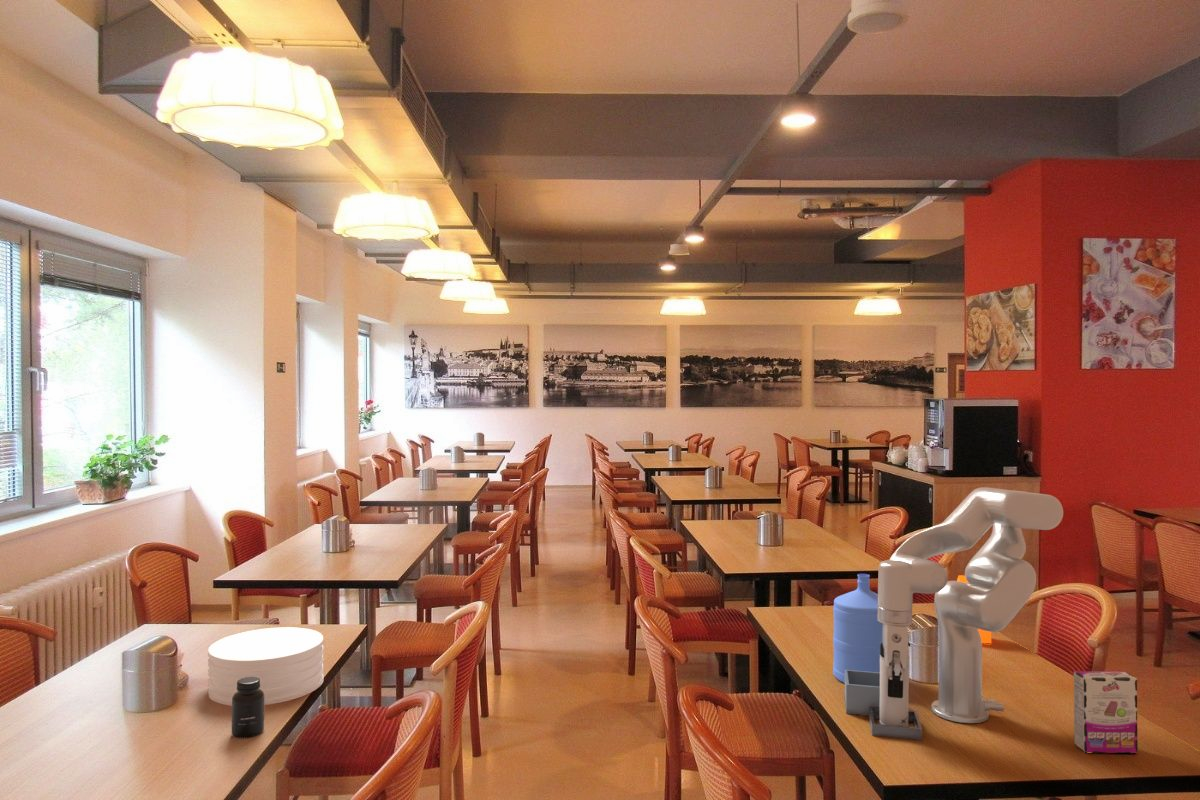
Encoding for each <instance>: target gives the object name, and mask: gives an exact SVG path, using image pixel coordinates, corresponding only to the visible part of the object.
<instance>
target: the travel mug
mask: <svg viewBox="0 0 1200 800" xmlns="http://www.w3.org/2000/svg"><path fill="white" fill-rule="evenodd" d="M910 647H911V643H910V642H909V641H908V648H910ZM909 652H910V651H909V650H908V669H907V670H905V669H904V668H903V666H902V675H903V698H894V697H888V678H889V668H887V667H886V665H885V660H884V647H883V644H882V643H881V645H880V719H879V724H884V725H894V726H904V727H909V722H908V710H909V709H910V708H909V707H910V706H909V701H910V699H909V689H910V686H909V683H910V680H909V679H910V673H909V671H910V670H909V669H910V667H909V666H910V664H909V663H910V661H909V660H910V659H909V658H910V657H909ZM891 665H892V664H891ZM892 671H893V670H892Z"/></svg>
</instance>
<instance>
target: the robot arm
mask: <svg viewBox="0 0 1200 800" xmlns="http://www.w3.org/2000/svg"><path fill="white" fill-rule="evenodd" d="M1063 517H1064V509H1063V506H1062V503H1061V502H1060V500H1059V499H1058V498H1057V497H1056V496H1053V495H1051V494H1047V493H1045V494H1044V493H1036V492H1029V491H1022V490H1013V489H1012V490H1011V489H1005V488H1004V489H1001V488H996V487H988V486H987V487H977V488H974V489H973V490H972V491H970V492H969V494H968V495H967V496H966V497H965V498H964V499H963V500H962V501H961V502H960V504H959V505H958V506H956V508H955V509H953V511H952V512H951V513H950V514H949V515H948V516H947V517H946V518H945V519H944V521H942V522H940V523H939V524H936V525H933V526H931V527H928V528H925V529H924V530H922V531H919V532H918V533H915V534H913V535H912V536H910V537H909V538H907V539H906V540H905V541H903V543H901V544H900V546H898V547H897V548H896V550H895V551H894V552H893V553H892V555H891V556H890V558H889V559H887V560H883V561H881V562H879V564H878V571H877V572H878V574H877V575H878V577H877V580H878V581H877V582H878V583H877V594H878V613H877V620H878V621H879V622H881V623H883V627H882V644H883V647H884V660H885V665H886V667H887V668H889V678H888V697H894V698H903V675H902V666H903V668H904V669H905V670H907V669H908V661H909V660H908V655H909V653H908V651H909V646H908V642H909V631H908V630H909V629H908V628H909V627H908V626H911V625H912V624H913V601H914V599H913V597H914V596H913V595H914V594H915V593H917V594H925V595H926V594H928V595H929V594H930V595H931V594H932V595H933V594H934V608H935V613H936V619H937V626H938V628H937V629H938V692H937V693H938V699H937V700H934V701H933V702H932V703H931V711H932V712H933V713H934V714H935V715H936V716H938V717H940V718H943V719H944V720H948V721H950V722H956V723H962V724H979V723H984V722H986V721H988V720H989V716H990V715H989V714H990V713H989V712H990V711H995V712H1004V710H1005V709H1004V708H1005V707H1004V702H996V699H985V697H983V692H982V691H983V689H982V688H983V687H982V684H983V679H982V678H983V676H982V675H983V671H982V669H983V644H982V640H981V636H980V633H979V630H978V629H981V630H984V631H988V632H991V633H997V632H1001V631H1003V629H1005V628H1006V627H1008V625H1009V624H1010V623H1011V622H1012V621H1013V619H1014V618H1015V617H1016V615H1018V613H1019V612H1020V611H1021V610H1022V609H1023V607H1024V606H1025V605H1026V603H1027V602H1028V601H1029V599H1030V598H1031V597H1032V596H1033V593H1034V591H1035V589H1036V585H1037V573H1036V570H1035V568H1034V567H1033V566H1032V564H1031V563H1030V562H1028V561H1026V560H1024V559H1023V557H1024V555H1025V554H1026V549H1027V546H1026V541H1025V537H1024V535H1023V531H1022V530H1023V529H1026V530H1039V531H1040V530H1043V531H1049V530H1053V529H1055V528H1056V527H1058V526H1059V524H1060V523H1061V522H1062V520H1063ZM991 527H992V531H991V535H990V536H989V538H988V539H987V540H986V541H985V543H984V544H983V545H982V546H981V548H980V549H978V551H977V552H976V553H975V554H974V555H973V557H972V558H971V559H970V560H969V562H967V565H966V567H965V569H964V576H965V578H966V580H967V581H968V582H969V583H965V582H961V581H957V580H949V578H948V577H949V575H948V572H947V570H946V569H945V568H944V567H943V565H941V564H940V563H938V562H936V561H933V560H931V559H930V558H933V557H936V556H939V555H943V554H952V553H953V554H954V553H959V552H963V551H967V550H970V549H971V548H973V547H974V546H975V545H976V543H978V541H980V539H981V538H982V537H983V536H984V535H985V534H986V533H987V531H988V530H989V529H990V528H991ZM891 664H892V665H891ZM892 670H893V671H892Z"/></svg>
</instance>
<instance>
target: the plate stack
mask: <svg viewBox="0 0 1200 800" xmlns="http://www.w3.org/2000/svg"><path fill="white" fill-rule="evenodd" d="M207 656H208V659H207V664H208V665H207V667H208V669H207V671H208V673H207V675H208V679H207V681H208V682H207V683H208V689H207V690H208V692H207V693H208V698H209V699H210V700H211V701H213V702H214V703H217V704H220V705H225V706H231V707H232V697H233V695H234V694H235V693H236V692H237V681H238V680H240V679H242V678H246V677H258V678H259V679H260V688H259V689H261V690H262V691H263V692H264V706H266V705H267V706H269V705H274V704H279V703H283V702H284V703H285V702H289V701H291V700H294V699H298V698H301V697H304V696H306V695H308V694H310V693H313V692H314V691H316V690H317V689H318V688H320V687H321V686H322V685H323V683H324V679H325V678H324V669H325V668H324V635H323V634H322V633H321V632H319V631H318V630H315V629H310V628H306V627H296V626H295V627H293V626H292V627H291V626H290V627H287V626H285V627H281V626H280V627H279V626H278V627H269V628H267V627H266V628H260V629H259V628H258V629H253V630H248V631H243V632H238V633H235V634H231V635H228V636H225V637H223V638H220V639H219V640H217V641H215V642H213V643H212V644H211V645H210V646H209V647H208V649H207Z"/></svg>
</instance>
